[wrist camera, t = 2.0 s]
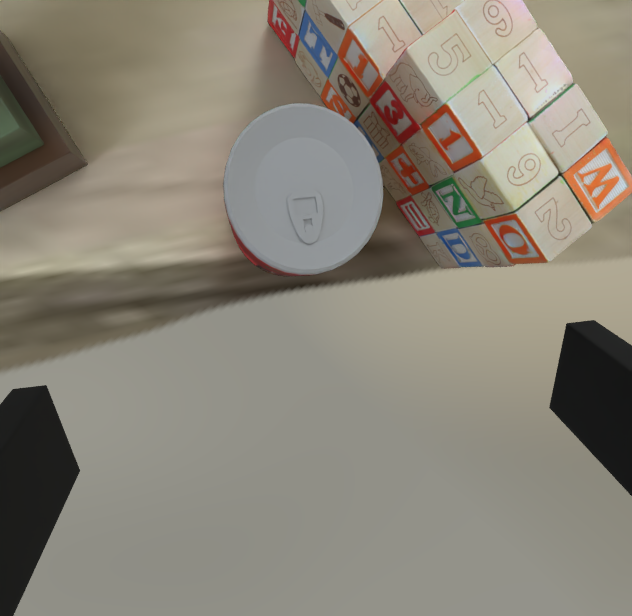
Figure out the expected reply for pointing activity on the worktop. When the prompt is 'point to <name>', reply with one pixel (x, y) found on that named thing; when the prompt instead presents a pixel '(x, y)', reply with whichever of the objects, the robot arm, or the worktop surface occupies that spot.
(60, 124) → the green brown stepped block
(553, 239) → the stack of blocks
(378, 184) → the canned food
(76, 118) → the worktop surface
